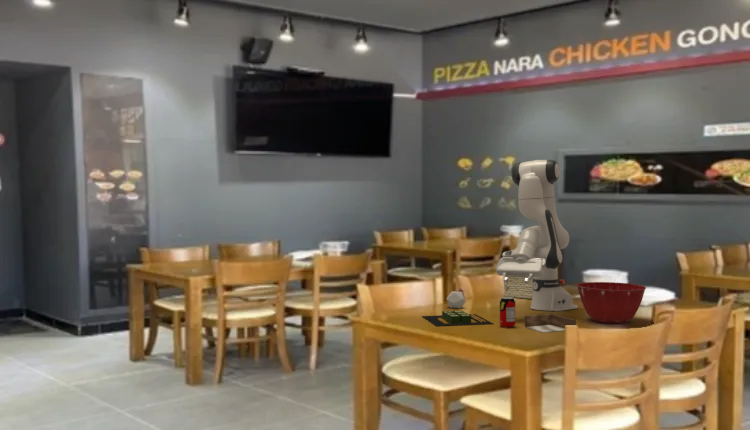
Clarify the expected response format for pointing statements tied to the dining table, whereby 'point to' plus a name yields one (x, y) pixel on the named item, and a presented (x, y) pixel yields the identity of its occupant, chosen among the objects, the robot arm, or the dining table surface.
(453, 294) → the die
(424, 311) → the dining table surface
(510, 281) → the storage basket
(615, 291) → the mixing bowl
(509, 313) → the beverage can
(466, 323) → the sushi
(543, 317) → the corner fence
